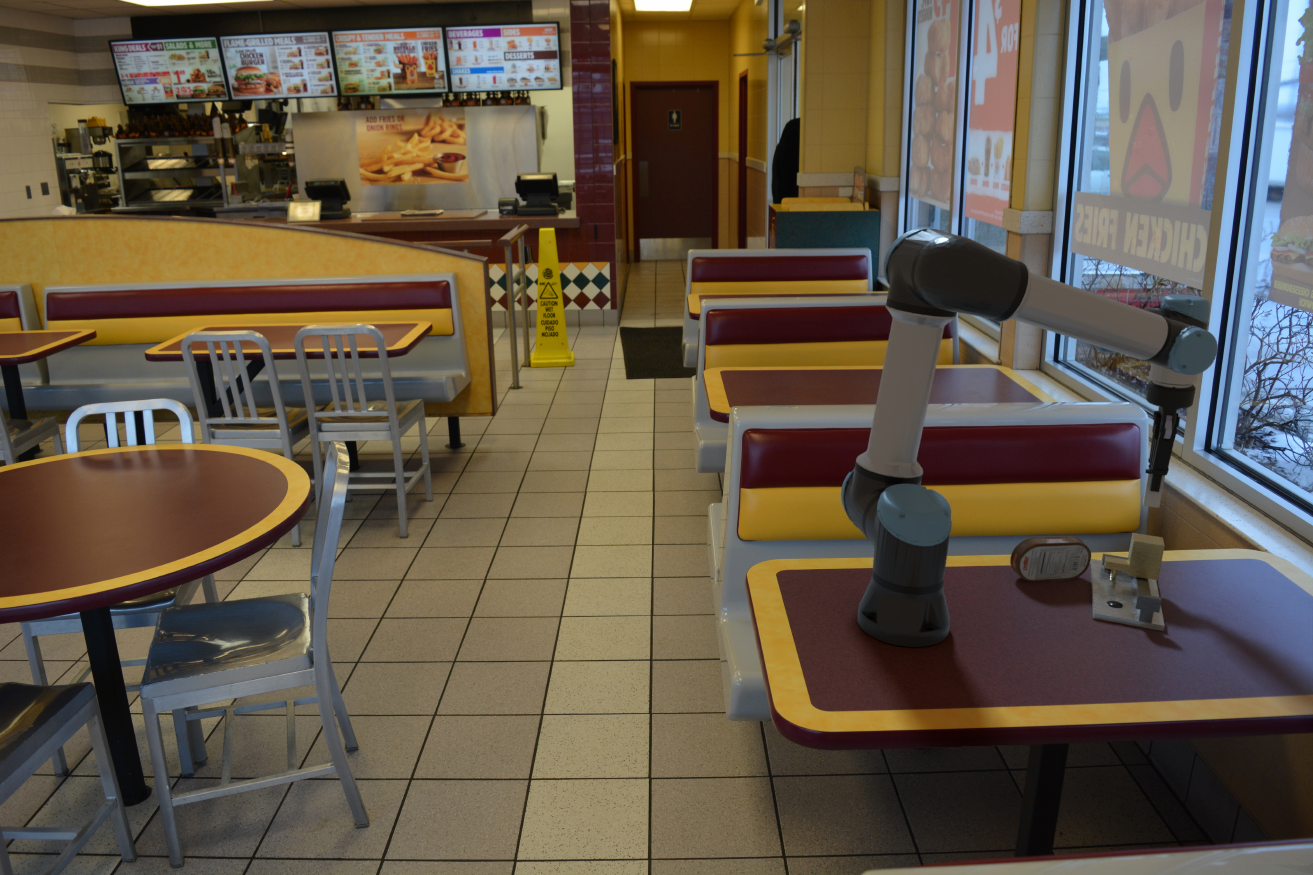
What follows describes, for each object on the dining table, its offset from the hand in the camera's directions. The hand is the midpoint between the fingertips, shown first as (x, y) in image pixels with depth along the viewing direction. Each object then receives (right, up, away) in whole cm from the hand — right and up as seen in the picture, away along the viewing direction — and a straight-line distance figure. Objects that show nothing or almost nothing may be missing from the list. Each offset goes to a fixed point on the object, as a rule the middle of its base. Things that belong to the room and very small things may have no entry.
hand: (1150, 505), depth 178 cm
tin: (-18, -14, +2) cm, 23 cm away
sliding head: (-5, -14, -2) cm, 15 cm away
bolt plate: (-7, -16, -4) cm, 18 cm away
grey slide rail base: (-6, -15, -4) cm, 17 cm away
